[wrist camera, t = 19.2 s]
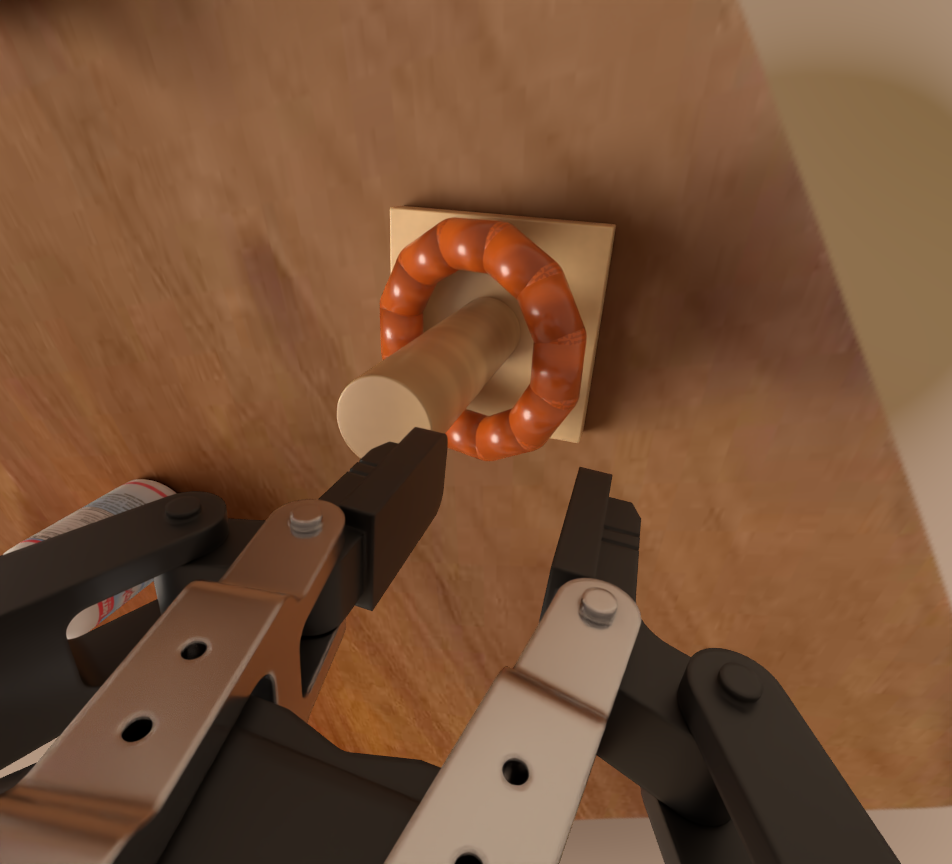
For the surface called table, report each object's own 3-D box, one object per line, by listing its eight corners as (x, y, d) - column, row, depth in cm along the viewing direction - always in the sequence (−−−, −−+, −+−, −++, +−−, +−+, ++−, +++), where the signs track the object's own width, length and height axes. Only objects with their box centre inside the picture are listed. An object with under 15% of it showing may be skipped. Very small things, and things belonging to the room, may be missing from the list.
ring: (609, 227, 18) (585, 230, 16) (576, 477, 21) (555, 496, 20) (398, 211, 22) (366, 211, 21) (402, 418, 26) (375, 429, 25)
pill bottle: (205, 562, 37) (45, 699, 28) (133, 536, 39) (-46, 658, 29) (197, 489, 34) (14, 613, 25) (119, 463, 36) (-84, 572, 26)
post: (616, 224, 21) (576, 269, 11) (583, 432, 25) (532, 597, 15) (401, 205, 23) (213, 229, 13) (402, 400, 27) (258, 526, 17)
